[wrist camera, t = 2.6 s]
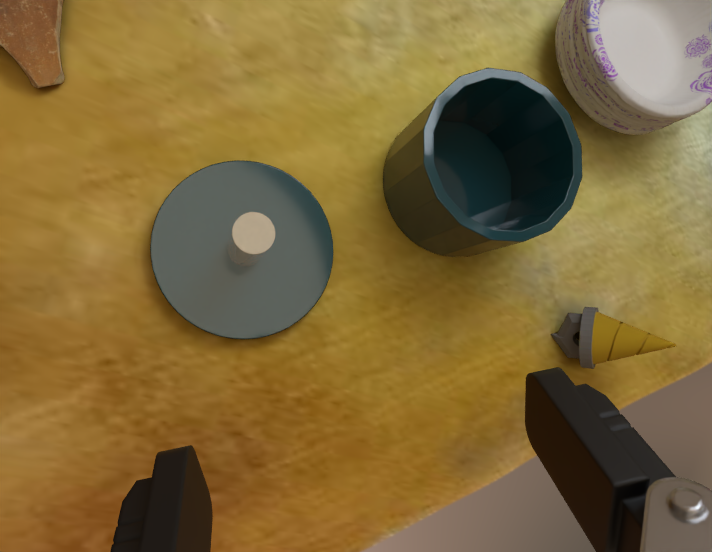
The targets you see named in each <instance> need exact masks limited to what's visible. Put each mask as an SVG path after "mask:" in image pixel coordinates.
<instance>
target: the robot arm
mask: <svg viewBox="0 0 712 552" xmlns="http://www.w3.org/2000/svg"><path fill="white" fill-rule="evenodd" d="M525 426H526V431H527V435H528V438H529V441H530V443H531V445H532V447H533V449H534V451H535V452H536V454H537V456H538V457H539V458H540V460H541V462H542V464H543V465H544V467H545V469H546V470H547V472H548V474H549V475H550V477H551V478H552V480H553V482H554V483H555V485H556V487H557V488H558V490H559V491H560V493H561V495H562V496H563V498H564V500H565V501H566V503H567V505H568V506H569V508H570V510H571V511H572V513H573V514H574V516H575V518H576V519H577V521H578V523H579V524H580V526H581V528H582V529H583V531H584V532H585V534H586V536H587V537H588V539H589V541H590V542H591V544H592V545H593V547H594V549H595V551H596V552H712V491H711V490H710V489H709V488H707V487H705V486H703V485H702V484H700V483H697V482H695V481H692V480H689V479H685V478H678V477H676V476H675V475H674V474H673V473H672V472H671V471H670V469H669V468H668V467H667V466H666V465H665V464H664V463H663V462H662V460H661V459H660V458H659V457H658V456H657V455H656V453H655V452H654V451H653V450H652V449H651V448H650V446H649V445H648V444H647V443H646V442H645V441H644V439H643V438H642V437H641V436H640V435H639V434H638V432H637V431H636V430H635V429H634V428H631V426H630V423H629V422H628V421H627V420H626V419H625V417H624V416H623V415H620V413H619V410H618V409H617V408H616V407H615V406H614V405H613V403H612V402H611V401H610V400H609V399H608V398H607V397H606V396H605V395H604V394H602V393H600V392H599V391H597V390H595V389H594V388H592V387H590V386H589V385H587V384H582V385H577V386H575V385H574V383H573V382H572V381H571V380H570V379H569V377H568V376H567V375H566V374H565V372H564V371H563V370H562V369H561V368H558V367H557V368H552V369H547V370H542V371H538V372H533V373H529V374H528V375H527V377H526V398H525ZM211 533H212V504H211V498H210V493H209V490H208V487H207V484H206V481H205V478H204V476H203V473H202V470H201V467H200V464H199V461H198V458H197V455H196V452H195V450H194V448H193V446H191V445H190V446H185V447H181V448H176V449H171V450H166V451H161V452H158V453H157V455H156V459H155V464H154V469H153V474H152V478H147V479H142V480H138V481H136V482H135V484H134V485H133V487H132V488H131V490H130V491H129V493H128V494H127V496H126V497H125V499H124V500H123V502H122V506H121V510H120V514H119V519H118V527H116V531H115V535H114V539H113V541H114V544H113V545H112V547H111V552H210V548H211Z"/></svg>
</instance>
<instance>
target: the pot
mask: <svg viewBox="0 0 712 552" xmlns="http://www.w3.org/2000/svg"><path fill="white" fill-rule="evenodd" d="M581 179H582V150H581V143H580V141H579V138H578V135H577V133H576V130H575V127H574V125H573V122H572V120H571V117H570V114H569V113H568V112H567V110H566V109H565V108H564V107H563V106H562V104H561V103H560V102H559V101H558V100H557V98H556V97H555V96H554V95H553V94H552V92H551V91H550V90H549V89H548V88H547V87H545V86H543V85H542V84H540V83H538V82H536V81H535V80H533V79H531V78H530V77H528V76H526V75H524V74H523V73H521V72H516V71H508V70H501V69H494V68H486V69H482V70H479V71H476V72H473V73H469V74H466V75H463V76H460V77H458V78H457V79H456V80H455V81H454V82H453V83H452V84H451V85H450V86H448V87H447V88H446V89H445V90H444V91H443V92H442V93H441V94H440V95H439V96H438V97H437V98H436V99H435V100H434V101H432V102H431V103H430V104H429V105H428V106H427V107H426V108H425V109H424V110H423V111H422V112H421V113H420V114H419V115H418V116H417V117H416V118H415V119H414V120H413V121H412V122H411V123H410V124H409V125H408V126H407V127H406V128H405V129H404V130H403V131H402V132H401V133H400V134H399V135H398V136H397V137H396V138H395V141H394V143H393V144H392V146H391V148H390V150H389V152H388V155H387V158H386V161H385V166H384V172H383V189H384V195H385V199H386V203H387V206H388V209H389V211H390V213H391V215H392V217H393V219H394V221H395V222H396V224H397V225H398V227H399V228H400V229H401V230H402V232H403V233H404V234H405V235H406V236H407V237H408V238H409V239H410V240H412V241H413V242H414V243H416V244H417V245H418V246H420V247H422V248H423V249H425V250H427V251H430V252H432V253H435V254H439V255H442V256H450V257H462V256H464V257H468V256H472V255H476V254H480V253H483V252H487V251H491V250H495V249H498V248H502V247H506V246H509V245H513V244H517V243H520V242H524V241H526V240H529V239H531V238H534V237H536V236H539V235H541V234H543V233H546V232H548V231H550V230H552V229H553V228H554V227H555V225H556V224H557V223H558V222H559V221H560V220H561V219H562V218H563V217H564V216H565V215H566V213H567V212H568V211H569V210H570V209H571V207H572V205H573V202H574V199H575V197H576V194H577V191H578V188H579V185H580V182H581Z"/></svg>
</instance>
